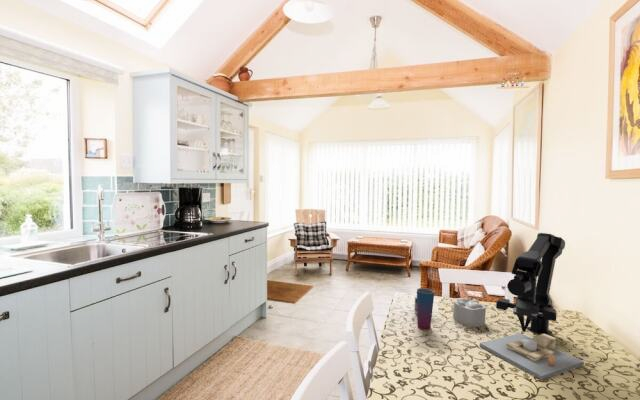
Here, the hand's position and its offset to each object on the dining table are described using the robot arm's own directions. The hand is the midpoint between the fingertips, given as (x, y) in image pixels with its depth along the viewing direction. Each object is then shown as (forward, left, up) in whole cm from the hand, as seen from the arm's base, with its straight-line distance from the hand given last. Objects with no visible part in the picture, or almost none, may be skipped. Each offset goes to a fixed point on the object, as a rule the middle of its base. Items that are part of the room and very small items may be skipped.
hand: (524, 331), depth 124 cm
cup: (+26, -24, -5) cm, 36 cm away
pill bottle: (+17, -36, -5) cm, 40 cm away
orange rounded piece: (+9, +15, -3) cm, 18 cm away
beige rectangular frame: (+4, +7, -3) cm, 8 cm away
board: (+7, +7, -4) cm, 11 cm away
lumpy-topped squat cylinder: (+3, -23, -5) cm, 24 cm away
